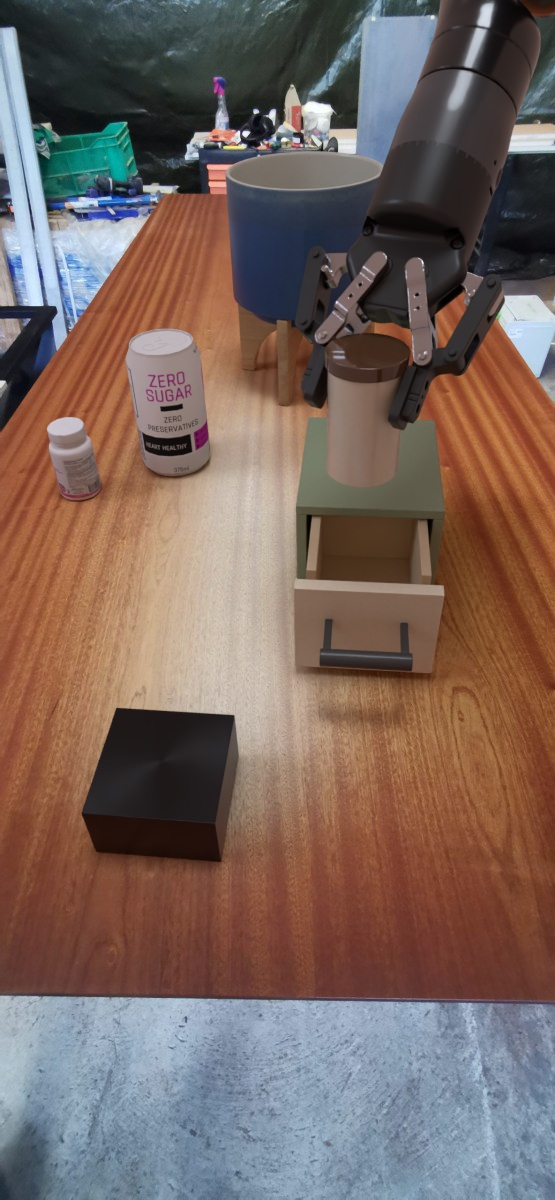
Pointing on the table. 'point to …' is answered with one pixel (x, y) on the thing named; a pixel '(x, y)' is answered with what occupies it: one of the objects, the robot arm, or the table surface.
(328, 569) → the drawer
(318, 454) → the cabinet
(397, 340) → the jar
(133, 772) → the stand
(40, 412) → the table surface
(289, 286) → the planter
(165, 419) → the supplement can
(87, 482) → the pill bottle
